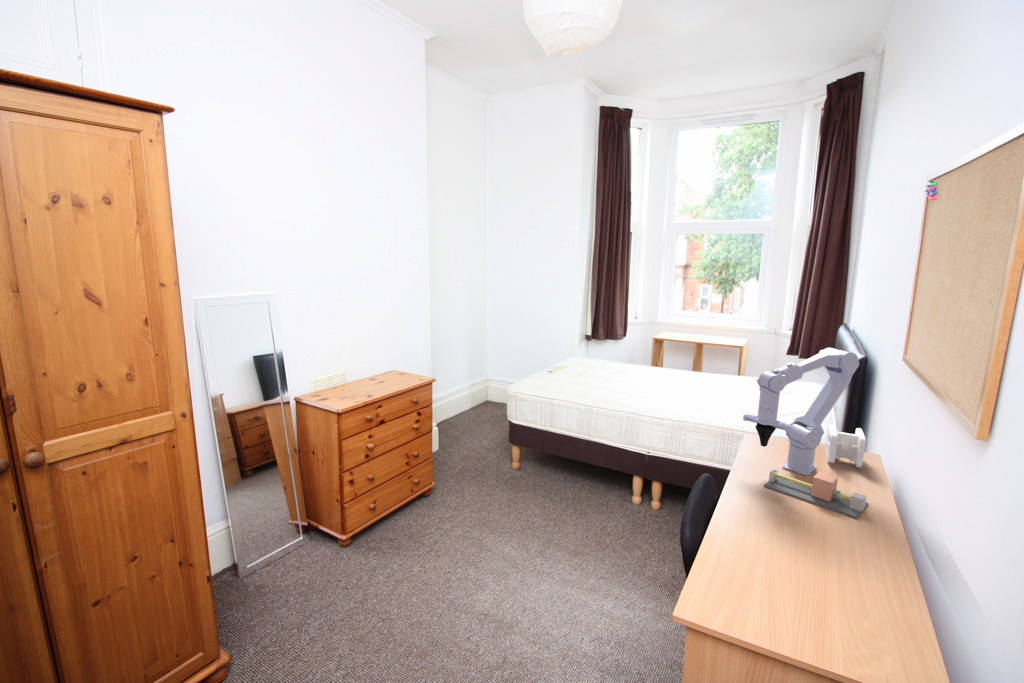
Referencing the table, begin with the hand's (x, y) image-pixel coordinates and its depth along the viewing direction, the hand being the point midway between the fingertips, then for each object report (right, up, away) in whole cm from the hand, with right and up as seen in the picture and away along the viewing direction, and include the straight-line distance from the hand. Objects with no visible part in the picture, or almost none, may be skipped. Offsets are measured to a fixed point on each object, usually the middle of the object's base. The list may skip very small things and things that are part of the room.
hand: (763, 445), depth 159 cm
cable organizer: (+35, -8, +11) cm, 37 cm away
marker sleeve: (+9, -13, -16) cm, 23 cm away
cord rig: (+7, -12, -14) cm, 20 cm away
